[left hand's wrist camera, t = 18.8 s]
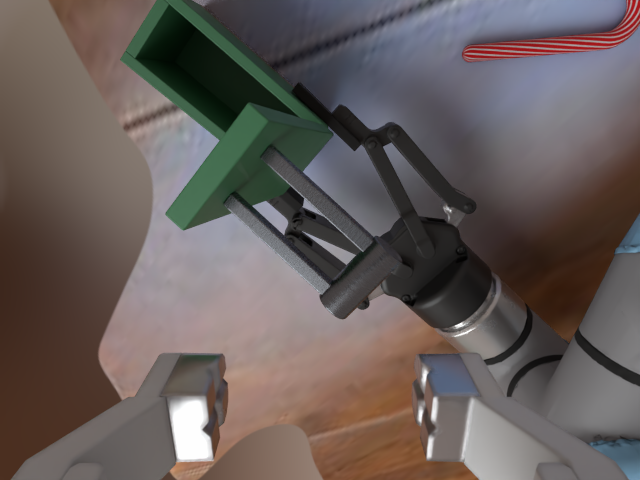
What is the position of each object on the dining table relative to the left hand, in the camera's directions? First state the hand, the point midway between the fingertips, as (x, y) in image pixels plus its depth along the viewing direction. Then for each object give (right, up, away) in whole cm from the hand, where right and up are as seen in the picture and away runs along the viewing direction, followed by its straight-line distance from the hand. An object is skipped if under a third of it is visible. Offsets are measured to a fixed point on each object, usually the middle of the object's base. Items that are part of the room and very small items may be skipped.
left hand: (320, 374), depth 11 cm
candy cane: (+20, +22, +26) cm, 39 cm away
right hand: (-4, +13, +23) cm, 26 cm away
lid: (-3, +8, +13) cm, 16 cm away
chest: (-6, +17, +28) cm, 33 cm away
